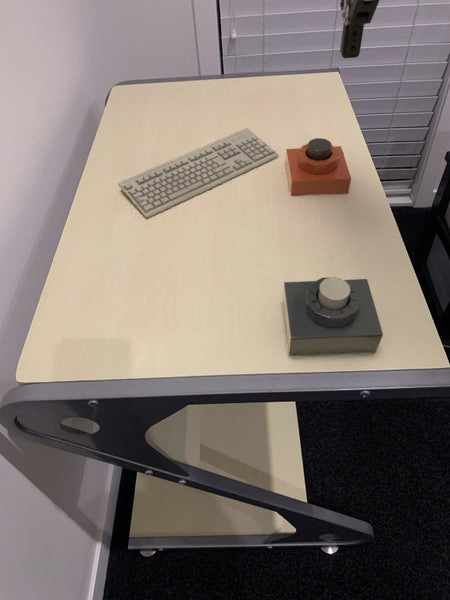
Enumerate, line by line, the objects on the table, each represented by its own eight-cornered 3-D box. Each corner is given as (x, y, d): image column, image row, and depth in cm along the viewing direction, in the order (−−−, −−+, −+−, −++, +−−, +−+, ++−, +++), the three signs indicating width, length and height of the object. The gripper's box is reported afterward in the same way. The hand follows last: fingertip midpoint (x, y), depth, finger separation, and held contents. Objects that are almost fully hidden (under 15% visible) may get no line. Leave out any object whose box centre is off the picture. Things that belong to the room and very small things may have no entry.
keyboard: (146, 219, 73) (143, 210, 72) (119, 190, 79) (117, 181, 77) (278, 157, 83) (279, 147, 81) (246, 135, 88) (246, 126, 87)
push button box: (361, 297, 60) (370, 268, 55) (376, 352, 54) (387, 324, 50) (282, 300, 60) (284, 271, 56) (288, 355, 55) (291, 328, 50)
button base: (338, 160, 81) (342, 135, 77) (348, 193, 75) (353, 168, 71) (285, 163, 81) (286, 138, 77) (290, 195, 75) (292, 171, 71)
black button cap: (328, 148, 76) (329, 137, 74) (331, 161, 73) (333, 150, 72) (305, 149, 76) (306, 138, 74) (308, 162, 73) (309, 151, 72)
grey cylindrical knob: (344, 287, 54) (347, 276, 52) (350, 310, 52) (353, 299, 50) (315, 288, 54) (317, 277, 53) (320, 311, 52) (322, 300, 50)
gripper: (435, -129, 38) (390, 75, 51) (398, -145, 46) (368, 34, 59) (349, -121, 38) (327, 80, 51) (327, -138, 47) (313, 38, 60)
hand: (349, 55), depth 55 cm, fingers closed
